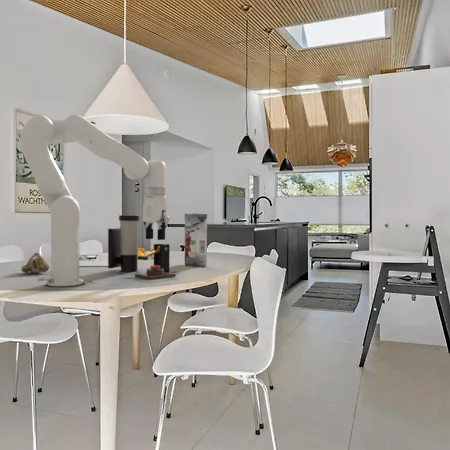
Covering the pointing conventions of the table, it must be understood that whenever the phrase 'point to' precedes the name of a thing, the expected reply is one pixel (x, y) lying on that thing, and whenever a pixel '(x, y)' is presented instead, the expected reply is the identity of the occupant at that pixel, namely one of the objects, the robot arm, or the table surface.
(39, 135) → the robot arm
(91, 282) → the table surface
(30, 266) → the ceramic sculpture
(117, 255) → the light fixture
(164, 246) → the switch bracket
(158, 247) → the switch lever
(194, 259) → the juice carton
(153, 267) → the button
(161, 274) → the button block
